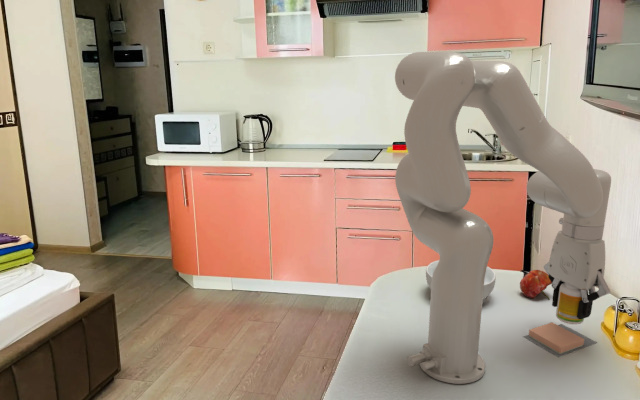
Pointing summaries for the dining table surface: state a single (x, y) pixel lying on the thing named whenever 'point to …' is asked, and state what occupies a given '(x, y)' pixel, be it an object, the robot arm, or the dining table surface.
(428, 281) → the cereal bowl
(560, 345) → the tile
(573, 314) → the supplement bottle
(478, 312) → the robot arm
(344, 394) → the dining table surface
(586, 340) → the rubber mat
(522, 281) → the pomegranate
